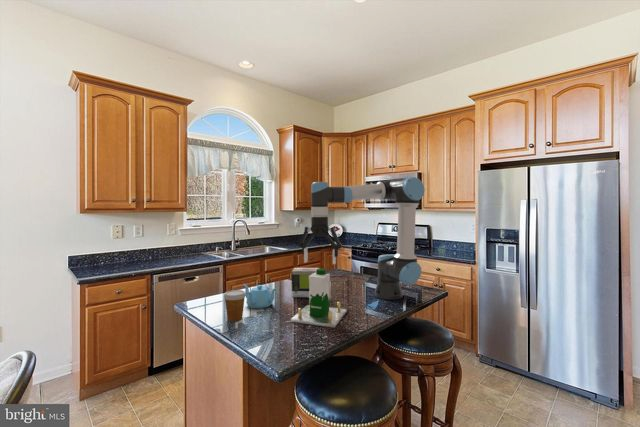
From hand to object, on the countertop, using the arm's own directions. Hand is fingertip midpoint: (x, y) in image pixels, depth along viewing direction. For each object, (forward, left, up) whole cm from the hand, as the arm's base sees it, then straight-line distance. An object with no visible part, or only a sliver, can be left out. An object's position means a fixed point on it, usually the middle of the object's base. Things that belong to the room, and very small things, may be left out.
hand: (319, 263), depth 144 cm
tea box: (+18, -29, -25) cm, 42 cm away
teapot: (+34, -4, -25) cm, 42 cm away
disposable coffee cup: (+35, +15, -25) cm, 45 cm away
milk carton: (0, 0, -24) cm, 24 cm away
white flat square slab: (0, 0, -25) cm, 25 cm away
